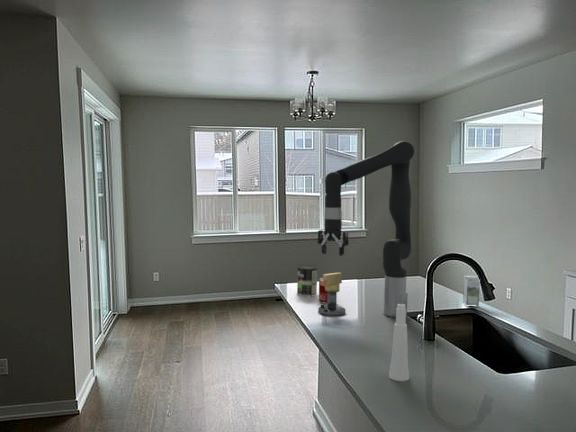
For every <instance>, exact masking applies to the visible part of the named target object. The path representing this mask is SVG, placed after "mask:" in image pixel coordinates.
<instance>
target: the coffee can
mask: <svg viewBox="0 0 576 432" xmlns="http://www.w3.org/2000/svg"><path fill="white" fill-rule="evenodd" d="M296 287H297V290H296V291H297V292H296V294H297V295H298V296H303V297H313V296H312V295H315V296H317V295H316V294H318V266H316V265H309V264H307V265H306V264H303V265H298V266H297V286H296Z"/></svg>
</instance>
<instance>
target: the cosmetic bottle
mask: <svg viewBox="0 0 576 432" xmlns="http://www.w3.org/2000/svg"><path fill="white" fill-rule="evenodd" d="M397 306H398V307H397V308H396V317H395V323H394V326H393V335H392V348H391V350H392V351H391V360H390V367H389V372H388V377H389V379H391V380H392V381H396V382H407V381H409V380H410V372H409V361H408V359H409V358H408V356H409V355H408V324H407V322H406V320H407V315H406V308H405V305H404V304H397Z"/></svg>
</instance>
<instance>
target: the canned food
mask: <svg viewBox="0 0 576 432" xmlns="http://www.w3.org/2000/svg"><path fill="white" fill-rule="evenodd" d="M321 280H323V277H320V278H319V279H318V301H319V303H322V302H325V303H324V304H327V301H328V292H326V291H325V286H322V285H320V281H321Z"/></svg>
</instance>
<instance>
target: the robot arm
mask: <svg viewBox="0 0 576 432" xmlns="http://www.w3.org/2000/svg"><path fill="white" fill-rule="evenodd" d="M414 155H415V147H414V146H413V144H412V143H410V142H409V141H406V140H400V141H398V142H396V143H395V144H393V145H392V146H391V147H389V148H388V149H386V150H384V151H382V152H380V153H378V154H375V155H372V156H370V157H366V158H364V159H363V158H362V159H361V160H358V161H357V162H353V163H351V164H349V165H346V166H345V167H343V168H339V169H338V170H334V171H331V172H329V173H327V174H326V176H325V178H324V180H325V181H324V184H325V185H324V186H325V187H324V188H325V200H324V214H323V215H324V224H323V225H324V230H323V229H321V230H318V231H317V232H318V233H317V244H318V245H320V246H321V254H322V255H326V254H327V244H328V242H336V244H338V246H339V247H338V248H339V249H338V252H339V253H338V254H339V255H338V256H340V257H341V256H344V255H345V247H347V246H349V232H348V231H344V232H343V231H342V221H343V219H342V217H343V215H342V214H343V213H342V195H341V194H342V193H341V192H342V186H344V185H346V184H348V183H350V182H353V181H357V180H359V179H362V178H364V177H366V176H368V175H370V174H373V173H375V172H376V171H379V170H381V169H384V168H386V167H389V166H391V167H390V168H391V178H390V183H389V184H390V185H389V196H388V211H389V214H390V216H391V219H392V220H393V222H394V226H395V238H394V239H393V238H392V239H389V240H386V241H385V242H384V244H383V247H382V248H383V249H382V265H383V266H382V267H383V270H384V290H383V292H384V293H383V294H384V295H383V299H384V300H383V314H384V315H385V316H388V317H392V318H396V308H397V307H398V306H397V304H404V305H405V308H406V316H407V315H408V299H409V298H408V297H409V295H408V293H407V277H408V276H407V275H408V274H407V273H408V272H407V269H406V268H403V267H402V265H401V263H402V262H401V261H402V260H407V259H408V258H409V257H410V255H411V252H412V241H411V207H412V191H411V190H412V189H411V184H410V176H409V175H410V174H409V173H410V171H409V170H410V164H411V163H410V162H411V160H412V159H413V157H414ZM324 236H325V237H324Z"/></svg>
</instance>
